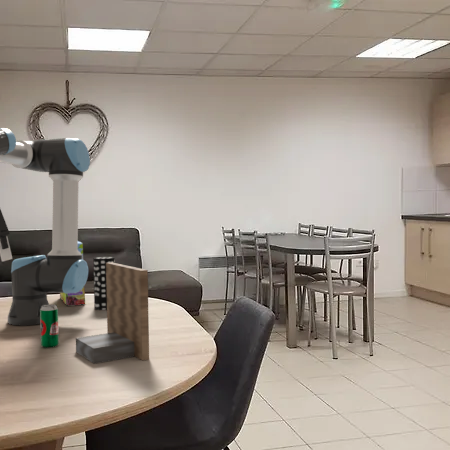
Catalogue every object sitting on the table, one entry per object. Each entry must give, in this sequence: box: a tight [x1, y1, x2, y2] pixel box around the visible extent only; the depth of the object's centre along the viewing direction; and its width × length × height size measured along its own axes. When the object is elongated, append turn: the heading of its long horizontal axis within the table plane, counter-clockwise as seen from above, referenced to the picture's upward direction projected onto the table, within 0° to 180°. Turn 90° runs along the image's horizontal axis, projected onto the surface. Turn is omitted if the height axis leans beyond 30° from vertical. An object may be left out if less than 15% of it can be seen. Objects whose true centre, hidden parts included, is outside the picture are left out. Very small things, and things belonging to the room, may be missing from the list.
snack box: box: [59, 240, 86, 306], centre depth 241 cm, size 22×9×26 cm, turn 23°
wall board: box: [75, 262, 150, 364], centre depth 157 cm, size 24×14×24 cm, turn 34°
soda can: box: [39, 303, 60, 349], centre depth 167 cm, size 5×5×12 cm
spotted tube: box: [92, 256, 116, 311], centre depth 225 cm, size 8×8×20 cm
